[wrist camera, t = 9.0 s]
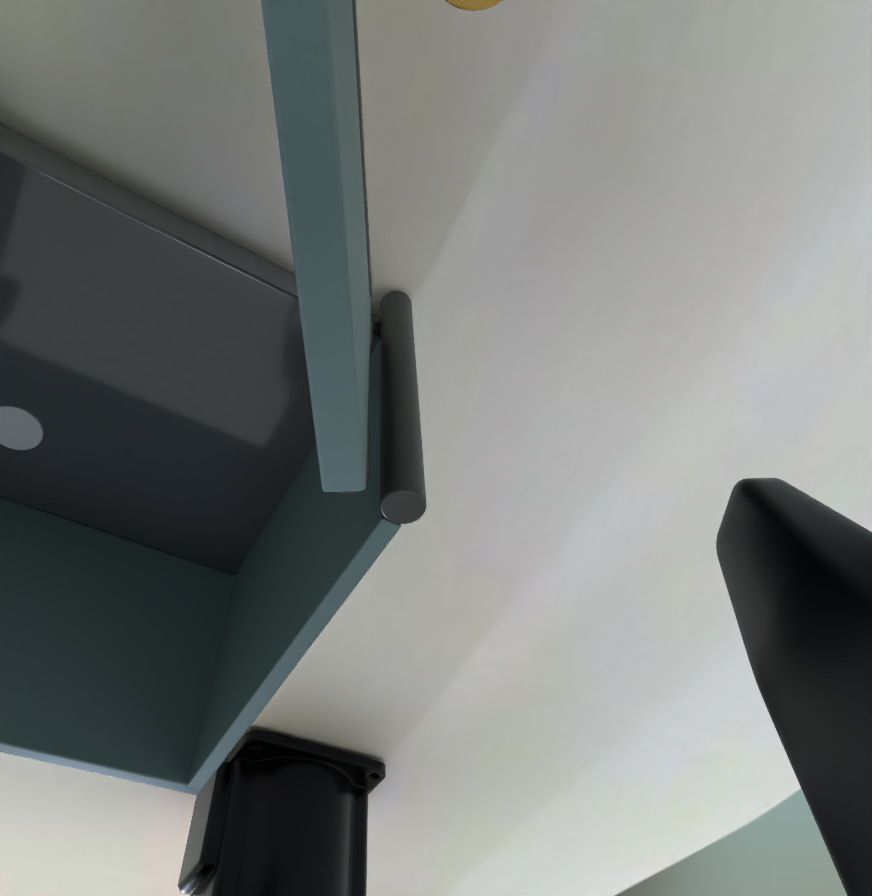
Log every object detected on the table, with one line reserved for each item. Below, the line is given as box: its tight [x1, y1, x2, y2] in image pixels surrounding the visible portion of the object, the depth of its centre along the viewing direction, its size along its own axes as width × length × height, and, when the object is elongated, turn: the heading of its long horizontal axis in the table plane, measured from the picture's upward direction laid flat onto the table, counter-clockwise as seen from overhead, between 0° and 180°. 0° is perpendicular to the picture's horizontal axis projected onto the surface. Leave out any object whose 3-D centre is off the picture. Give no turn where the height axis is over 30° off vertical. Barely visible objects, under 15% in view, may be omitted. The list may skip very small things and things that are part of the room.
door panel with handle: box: [261, 0, 503, 493], centre depth 12 cm, size 9×3×7 cm, turn 0°
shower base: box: [0, 125, 381, 576], centre depth 19 cm, size 11×10×1 cm
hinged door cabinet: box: [0, 292, 426, 795], centre depth 16 cm, size 11×11×8 cm
